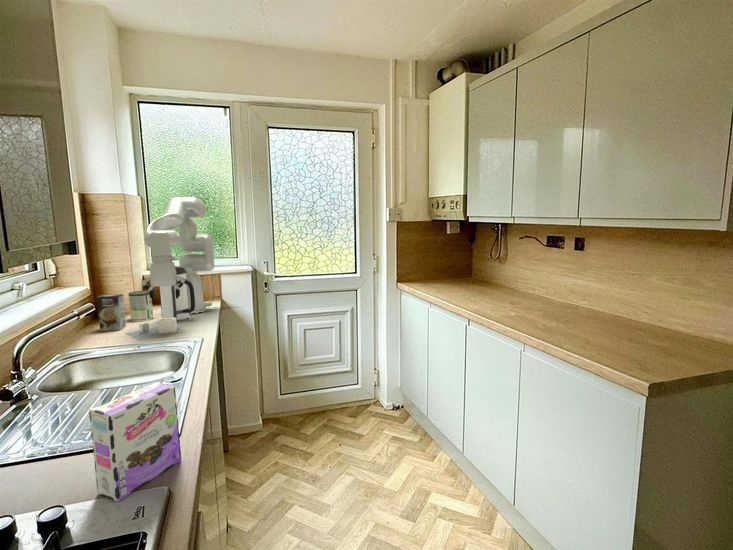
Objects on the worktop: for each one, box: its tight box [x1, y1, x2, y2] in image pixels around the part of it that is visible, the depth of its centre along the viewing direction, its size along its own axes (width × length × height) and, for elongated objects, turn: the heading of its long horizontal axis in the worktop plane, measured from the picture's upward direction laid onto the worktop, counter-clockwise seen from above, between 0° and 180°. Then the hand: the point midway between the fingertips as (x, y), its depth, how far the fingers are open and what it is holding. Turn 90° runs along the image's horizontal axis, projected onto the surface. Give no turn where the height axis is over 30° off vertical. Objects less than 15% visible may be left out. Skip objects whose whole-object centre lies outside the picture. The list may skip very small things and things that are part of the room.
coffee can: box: [128, 289, 154, 322], centre depth 205 cm, size 10×10×14 cm
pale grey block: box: [138, 322, 150, 334], centre depth 175 cm, size 3×2×4 cm, turn 153°
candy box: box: [88, 381, 182, 502], centre depth 77 cm, size 14×6×16 cm, turn 155°
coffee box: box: [96, 293, 127, 332], centre depth 187 cm, size 9×6×16 cm
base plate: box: [125, 326, 186, 341], centre depth 176 cm, size 19×16×2 cm
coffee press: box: [158, 265, 195, 321], centre depth 198 cm, size 17×16×30 cm
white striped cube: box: [157, 317, 178, 333], centre depth 177 cm, size 6×6×5 cm
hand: (165, 298), depth 175 cm, fingers open, 9 cm apart
